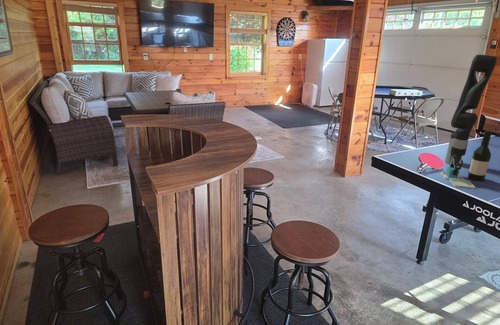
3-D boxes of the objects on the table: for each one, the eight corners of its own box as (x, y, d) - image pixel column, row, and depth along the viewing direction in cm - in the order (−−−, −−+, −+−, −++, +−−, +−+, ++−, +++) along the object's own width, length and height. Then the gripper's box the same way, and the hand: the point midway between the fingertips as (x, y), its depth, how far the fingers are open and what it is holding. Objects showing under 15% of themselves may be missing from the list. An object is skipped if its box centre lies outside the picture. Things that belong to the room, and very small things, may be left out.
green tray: (449, 180, 192) (449, 178, 191) (468, 182, 189) (469, 180, 189) (454, 187, 182) (455, 185, 182) (474, 189, 180) (475, 187, 180)
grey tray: (440, 173, 202) (440, 171, 202) (458, 175, 200) (458, 173, 199) (445, 179, 193) (445, 177, 193) (463, 181, 191) (464, 179, 190)
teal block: (445, 174, 199) (447, 167, 198) (455, 175, 198) (456, 168, 196) (448, 177, 195) (450, 169, 193) (457, 178, 194) (459, 170, 192)
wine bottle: (477, 176, 198) (490, 128, 188) (487, 182, 191) (501, 132, 180) (464, 176, 198) (476, 128, 188) (473, 182, 190) (486, 132, 180)
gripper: (448, 142, 197) (442, 168, 203) (456, 149, 184) (449, 176, 190) (462, 143, 196) (455, 169, 201) (471, 150, 182) (464, 178, 188)
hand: (452, 173), depth 195 cm, fingers open, 6 cm apart
